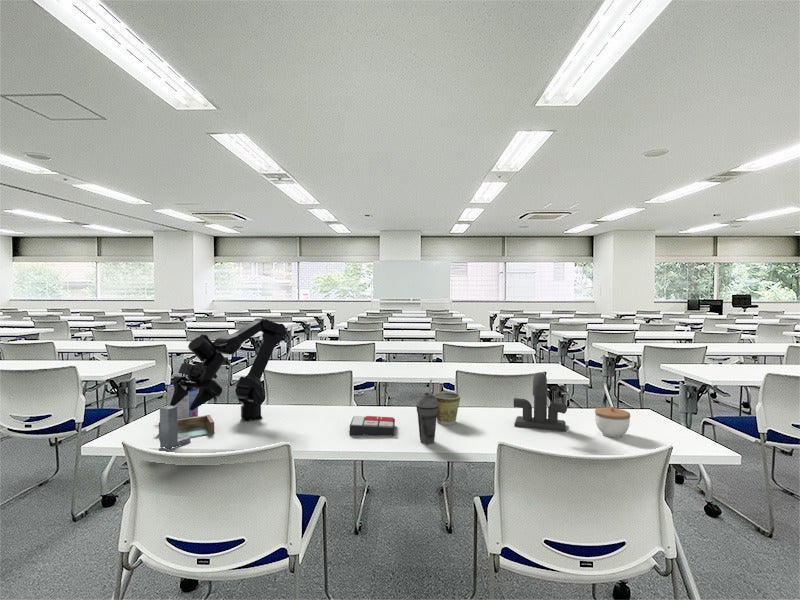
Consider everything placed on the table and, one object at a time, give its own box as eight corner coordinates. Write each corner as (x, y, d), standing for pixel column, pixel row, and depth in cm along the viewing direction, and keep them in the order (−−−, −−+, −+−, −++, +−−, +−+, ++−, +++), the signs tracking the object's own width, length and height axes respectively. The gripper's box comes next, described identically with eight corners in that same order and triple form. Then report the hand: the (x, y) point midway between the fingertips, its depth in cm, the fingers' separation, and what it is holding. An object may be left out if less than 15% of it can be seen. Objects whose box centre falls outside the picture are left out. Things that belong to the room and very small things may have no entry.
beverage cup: (414, 438, 143) (414, 377, 143) (436, 437, 144) (436, 377, 143) (417, 446, 136) (417, 382, 136) (440, 445, 137) (440, 381, 136)
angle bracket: (168, 449, 133) (168, 409, 133) (160, 447, 135) (159, 407, 134) (190, 442, 140) (189, 403, 139) (181, 440, 142) (181, 401, 141)
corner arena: (209, 425, 156) (209, 414, 156) (214, 433, 148) (214, 422, 148) (158, 433, 148) (158, 422, 148) (160, 442, 139) (160, 430, 139)
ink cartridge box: (199, 415, 170) (198, 378, 169) (189, 419, 164) (189, 381, 164) (176, 413, 172) (176, 377, 171) (166, 417, 166) (166, 380, 166)
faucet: (510, 432, 149) (510, 374, 148) (514, 419, 164) (515, 366, 163) (567, 439, 143) (567, 378, 142) (566, 425, 157) (567, 369, 157)
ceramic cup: (457, 427, 154) (457, 399, 154) (429, 424, 157) (430, 397, 157) (463, 417, 167) (463, 391, 166) (438, 415, 170) (438, 389, 169)
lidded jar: (588, 429, 152) (589, 403, 152) (618, 429, 153) (618, 402, 152) (604, 440, 141) (605, 411, 141) (636, 439, 142) (637, 411, 142)
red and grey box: (394, 425, 146) (349, 423, 146) (393, 438, 146) (349, 436, 146) (395, 416, 157) (353, 414, 157) (394, 428, 157) (352, 425, 157)
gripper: (175, 351, 147) (144, 390, 138) (214, 355, 139) (184, 397, 129) (196, 371, 155) (167, 409, 145) (234, 375, 146) (206, 417, 137)
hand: (180, 408), depth 139 cm, fingers open, 9 cm apart
